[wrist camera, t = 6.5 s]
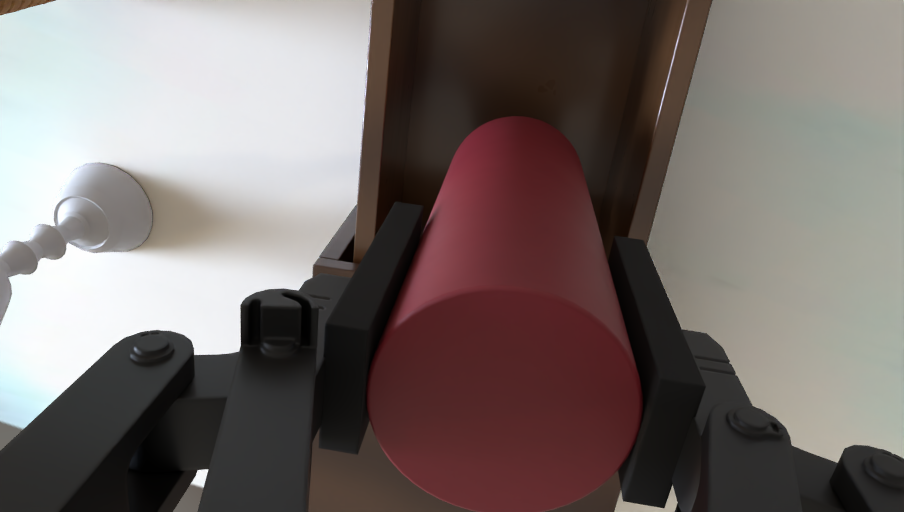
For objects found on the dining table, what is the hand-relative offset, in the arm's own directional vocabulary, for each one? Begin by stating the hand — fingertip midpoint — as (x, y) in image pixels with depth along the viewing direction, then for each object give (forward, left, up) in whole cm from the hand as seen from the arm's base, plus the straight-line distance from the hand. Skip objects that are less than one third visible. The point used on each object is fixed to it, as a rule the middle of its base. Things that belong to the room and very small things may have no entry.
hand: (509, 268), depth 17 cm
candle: (0, 0, -8) cm, 8 cm away
